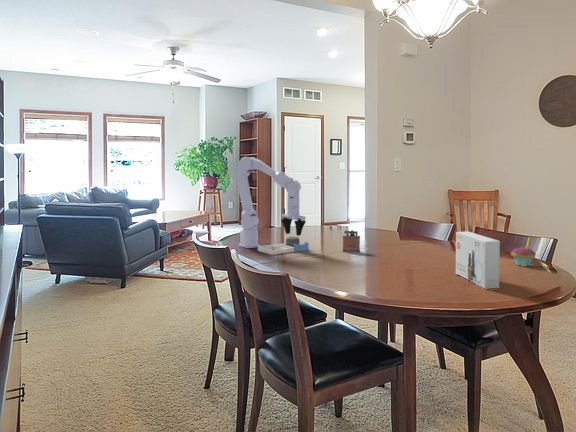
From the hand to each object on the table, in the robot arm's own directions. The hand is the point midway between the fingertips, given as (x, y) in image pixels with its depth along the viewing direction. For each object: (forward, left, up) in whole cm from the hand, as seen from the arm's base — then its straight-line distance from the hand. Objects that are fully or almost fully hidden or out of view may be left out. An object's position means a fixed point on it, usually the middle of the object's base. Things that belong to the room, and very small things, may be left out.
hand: (293, 234), depth 216 cm
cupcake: (+84, +51, -7) cm, 99 cm away
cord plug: (0, 0, -7) cm, 7 cm away
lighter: (+22, +17, -7) cm, 29 cm away
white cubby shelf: (0, -6, -7) cm, 9 cm away
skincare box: (+87, +12, -7) cm, 88 cm away
